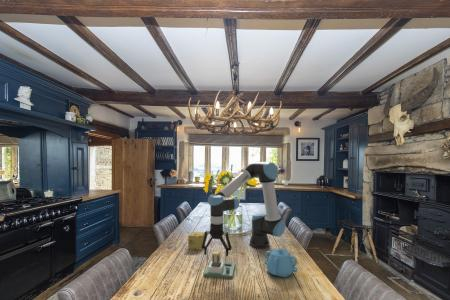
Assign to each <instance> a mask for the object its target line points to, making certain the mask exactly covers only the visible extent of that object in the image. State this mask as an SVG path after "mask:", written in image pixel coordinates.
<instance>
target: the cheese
mask: <svg viewBox="0 0 450 300" xmlns="http://www.w3.org/2000/svg"><path fill="white" fill-rule="evenodd" d="M205 232H206V231H205ZM205 232H204V231H203V232H201V231H200V232H197V231H192V232H191V233H190V234H189V235H188V238H187V239H188V242H187V243H188V244H187V248H188V250H197V251H203V248H201V247H202V243H203V240H204V237H205ZM204 246H206V244H205V245H204Z"/></svg>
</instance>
